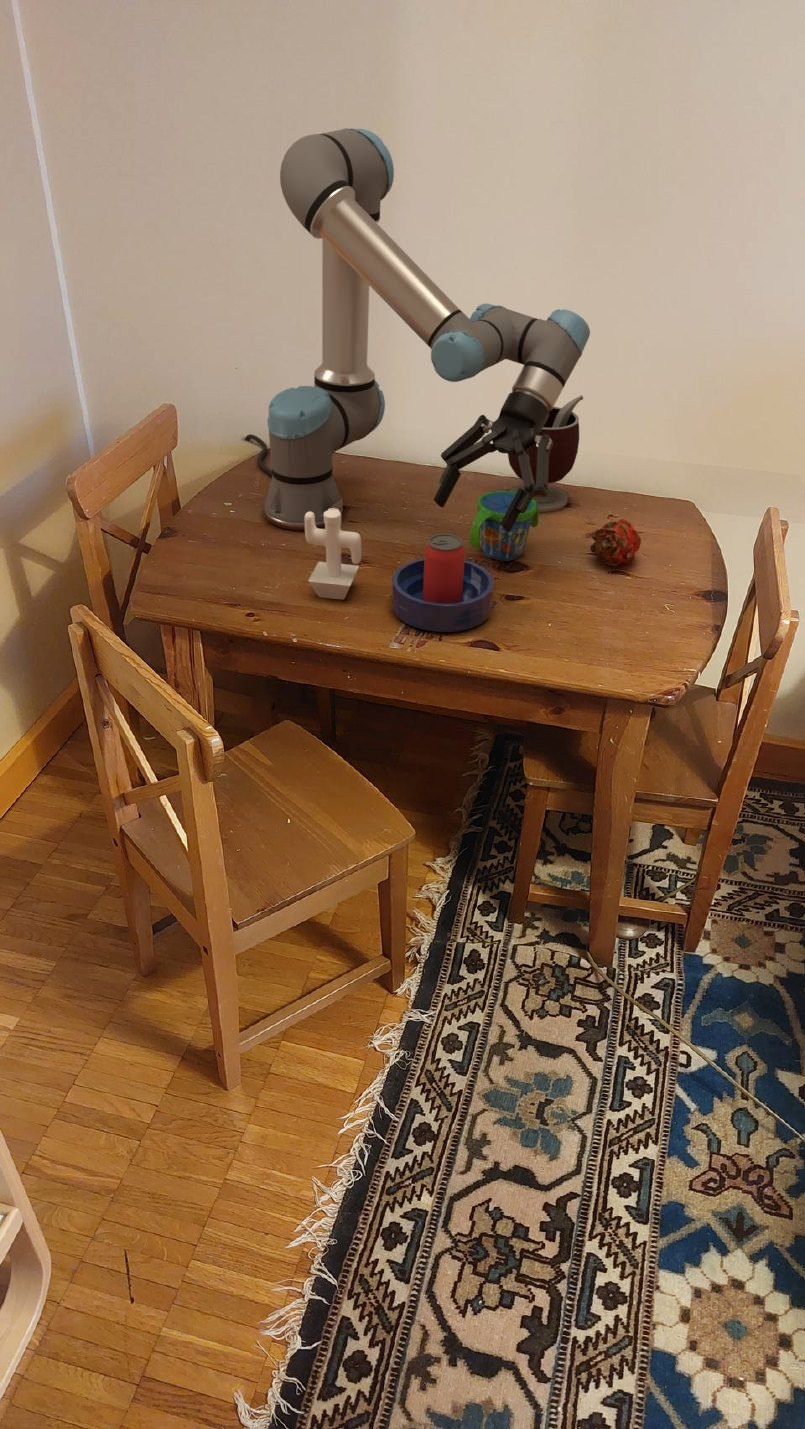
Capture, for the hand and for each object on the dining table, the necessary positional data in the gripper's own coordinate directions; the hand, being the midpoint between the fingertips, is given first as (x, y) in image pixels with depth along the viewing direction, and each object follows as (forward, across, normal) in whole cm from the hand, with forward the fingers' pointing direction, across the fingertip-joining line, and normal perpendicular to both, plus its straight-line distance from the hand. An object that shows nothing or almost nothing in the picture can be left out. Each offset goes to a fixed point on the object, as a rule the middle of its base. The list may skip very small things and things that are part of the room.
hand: (470, 515), depth 165 cm
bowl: (+15, 0, -5) cm, 16 cm away
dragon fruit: (-9, -13, -30) cm, 34 cm away
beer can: (+15, 0, -5) cm, 16 cm away
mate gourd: (-19, +12, -40) cm, 46 cm away
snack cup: (-1, +4, -22) cm, 22 cm away
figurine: (+21, +17, 0) cm, 27 cm away
